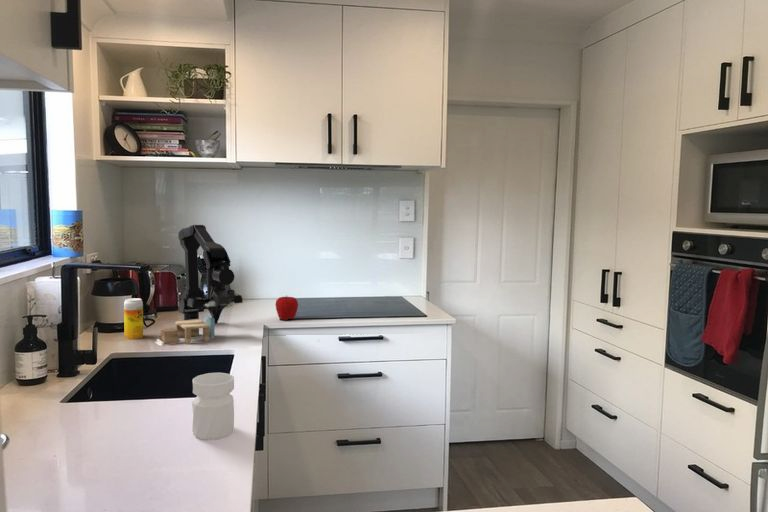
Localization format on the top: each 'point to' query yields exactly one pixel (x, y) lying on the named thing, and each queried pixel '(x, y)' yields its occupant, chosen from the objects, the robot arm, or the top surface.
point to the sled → (211, 335)
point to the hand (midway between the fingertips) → (215, 323)
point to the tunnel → (191, 329)
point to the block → (169, 335)
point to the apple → (286, 307)
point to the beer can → (133, 318)
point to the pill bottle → (213, 406)
